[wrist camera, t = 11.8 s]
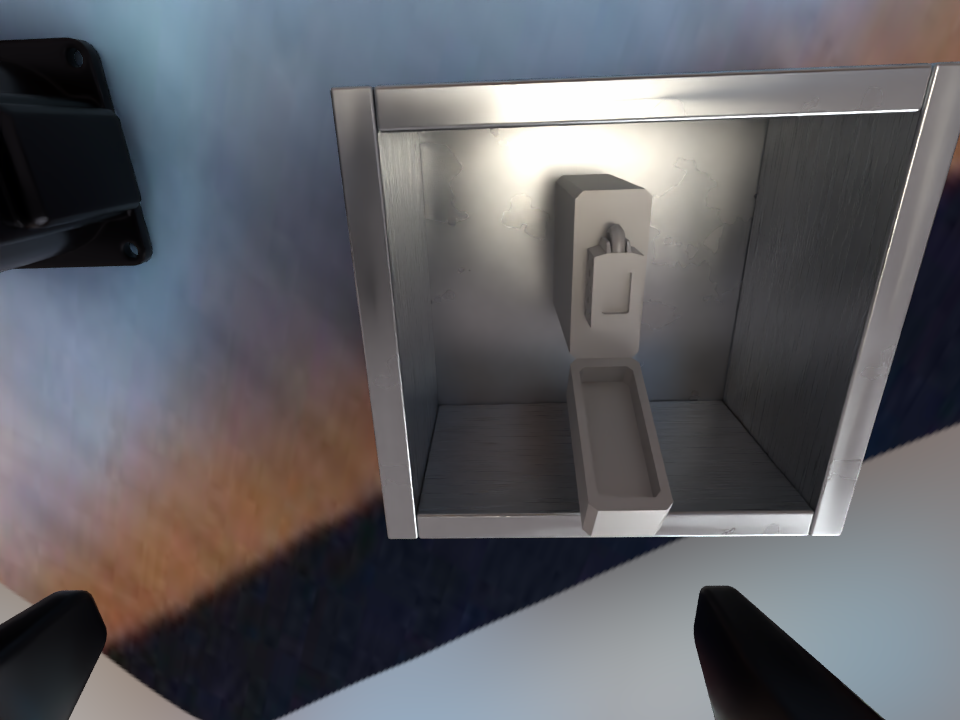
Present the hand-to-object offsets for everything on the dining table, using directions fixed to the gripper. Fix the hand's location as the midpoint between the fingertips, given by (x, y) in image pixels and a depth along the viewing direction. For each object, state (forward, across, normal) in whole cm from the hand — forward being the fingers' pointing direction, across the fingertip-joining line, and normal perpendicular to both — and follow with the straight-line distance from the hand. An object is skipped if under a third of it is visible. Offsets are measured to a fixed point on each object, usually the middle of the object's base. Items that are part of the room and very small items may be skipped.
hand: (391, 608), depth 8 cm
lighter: (+11, -4, -2) cm, 12 cm away
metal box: (+12, -4, -2) cm, 13 cm away
